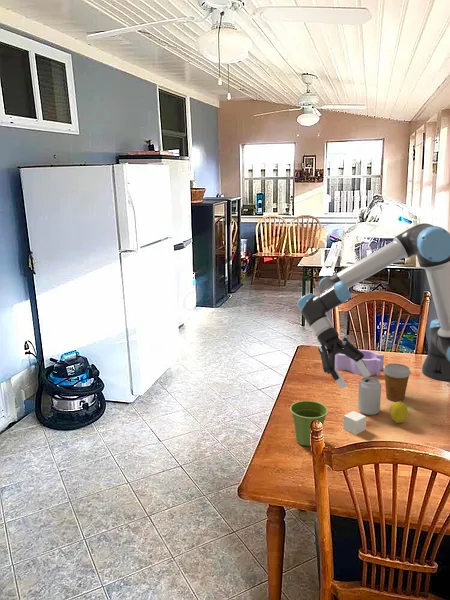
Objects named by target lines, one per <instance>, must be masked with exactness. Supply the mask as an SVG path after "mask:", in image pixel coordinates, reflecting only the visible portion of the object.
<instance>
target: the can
mask: <svg viewBox="0 0 450 600" xmlns="http://www.w3.org/2000/svg"><path fill="white" fill-rule="evenodd" d="M381 394H382V383H381V382H380V380H379V379H378V378H376V377H372V376H369V377H364V376H363V377H362V378H361V379H360V381H359V383H358V399H357V400H358V401H357V410H358V411H360V413H361V414H362V415H365V416H366V415H367V416H375V415H377V414H378V413H379V412H380V411H381V398H382V395H381Z"/></svg>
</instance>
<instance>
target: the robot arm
mask: <svg viewBox="0 0 450 600" xmlns="http://www.w3.org/2000/svg"><path fill="white" fill-rule="evenodd" d="M413 256H416V257H417V260H418V264H419V268H421V269H423V270H425V273H426V276H427V277H426V278H427V280H428V284H429V289H430V292H431V296H432V300H433V303H434V304H433V305H434V307H435V311H436V312H435V313H436V315H437V318H436V319H432V320H431V322H430V325H429V333H428V334H429V335H428V347H427V349H428V350H427V354H426V355H427V356H426V358H425V360H424V362H423V364H422V367H421V373H422V374H423V375H425V376H426V377H428V378H431V379H434V380H437V381H439V380H440V381H450V232H449V231H448V230H446V229H445V228H443V227H441V226H437V225H433V224H430V223H420V224H416V225H413V226H412V227H410V228H408V229H406V230H405V231H403V232H401V233H400V234H398V235H396V236H395V237H393V240H392V241H391V242H389V243H387V244H386V245H383V246H382V247H380V248H379V249H377V250H375V251H373V252H372V253H369V254H368V255H366V256H364V257H363V258H361V259H360V260H358V261H356V262H354V263H352V264H351V265H349V266H347V267H346V268H343V269H342V270H340V271H339V272H337V273H335V274H333V275H332V276H325V277H323V278H321V280H319V283H318V290H319V293H318V294H317V295H315V294H313V293H312V292H311V293H309V292H308V293H306V294H305V295H303V296H301V297H300V298H299V299H298V300H297V304H296V305H297V307H298V310H299V311H300V313H301V315H302V316H303V318H304V319H305V321H306V323H307V325H308V326H309V327H310V329H311V331H312V332H313V334H314V336H315V337H316V339H317V341H318V343H319V344H320V346H319V347H318V349H317V350H318V352H319V354H320V358H321V364H322V369H323V372H324V373H326V374H328V375H331V377H332V378H333V380H334V381H335V382H336V384H338V385H337V386H339V388H340V390H343V388H346V387H347V383H346V381H345V380H344V378H343V377H342V375H341V373H340V372H339V371H340V370H338V369H336V368H335V355H336V354H339V353H341V354H344V355H346V356H348V357H349V358H351V359H353V360H354V361H356V363H355V364H356V365H357V367H358V368H359V370H360V371H361V373H362V375H361V376H363V378H364V377H371V376H372V375H371V374H370V372H369V371H368V369H367V368H366V365H365V363H364V362H363V360H362V358H363V357H364V354H363V353H362V352H360V351H359V350H360V349H358V348H357V347H356V346H355V345H353V344H352V343H351V342H350V341H349V340H348V338H347V337H343V338H342V339H340V338H339V335H340V334H339V332H338V330H337V329H336V327H334V324H333V322H332V321H331V320H330V318H329V317H328V315H327V313H328V312H330V311H331V310H334V309H335V308H337V307H338V306H340V305H341V304H343V303H345V302H346V301H348V300H349V299H351V297H352V293H351V291H350V288H351V287H353V286H356V284H359V283H361V282H362V281H364V280H366V279H369V278H370V277H372V276H373V275H375V274H377V273H379V272H380V271H382V270H383V269H386V268H387V267H389V266H391V265H392V264H395V263H396V262H399V261H400V260H402V259H409V258H411V257H413Z"/></svg>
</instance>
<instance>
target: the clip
mask: <svg viewBox="0 0 450 600" xmlns="http://www.w3.org/2000/svg"><path fill="white" fill-rule="evenodd" d="M358 350H359V351H360V352H362V353H363V354H364V357H363V358H362V360H363V362H364V363H365V365H366V368H367V369H368V371H369V372H370V374H371V375H370V376H378V377H379V376H381V371H383V369H384V362H385V361H384V360H385V359H384V357H385V354H384V353H381V354H380V353H378V352H376V351H374V350H368V349H358ZM355 363H356V361H354V360H353V359H351V358H349V357H348V356H346V355H344V354H341V353H339V354H336V355H335V370H336V369H337V370H338V371H348V372H350V373H352V374H355V375H359V376H363V375H362V373H361V371H360V370H359V368H358V367H357V365H356V364H355Z"/></svg>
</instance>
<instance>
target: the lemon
mask: <svg viewBox="0 0 450 600" xmlns="http://www.w3.org/2000/svg"><path fill="white" fill-rule="evenodd" d="M389 413H390V417H391V419H392V420H393V421H394V422H396V423H397V424H401V423H403V422H405V421H406V420H407V419H408V415H409V411H408V406H407V405H406V404H405V403H404V402H403V401H394V403H392V405H391V407H390V412H389Z"/></svg>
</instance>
